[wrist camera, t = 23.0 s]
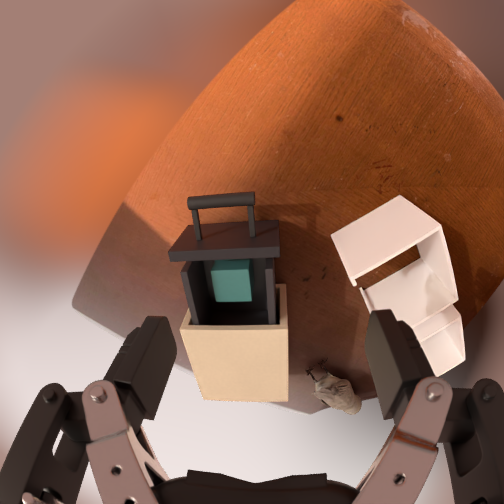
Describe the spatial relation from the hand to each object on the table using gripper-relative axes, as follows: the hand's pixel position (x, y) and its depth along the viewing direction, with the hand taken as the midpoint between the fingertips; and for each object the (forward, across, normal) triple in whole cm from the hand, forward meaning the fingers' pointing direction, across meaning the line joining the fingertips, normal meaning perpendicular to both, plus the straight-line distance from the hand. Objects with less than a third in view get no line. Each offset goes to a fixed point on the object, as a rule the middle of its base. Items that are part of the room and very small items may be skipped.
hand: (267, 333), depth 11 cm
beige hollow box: (+26, +5, +22) cm, 34 cm away
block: (+24, +5, +10) cm, 27 cm away
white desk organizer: (+26, -18, +15) cm, 35 cm away
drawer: (+25, +5, +9) cm, 27 cm away
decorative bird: (+26, -10, +37) cm, 46 cm away
